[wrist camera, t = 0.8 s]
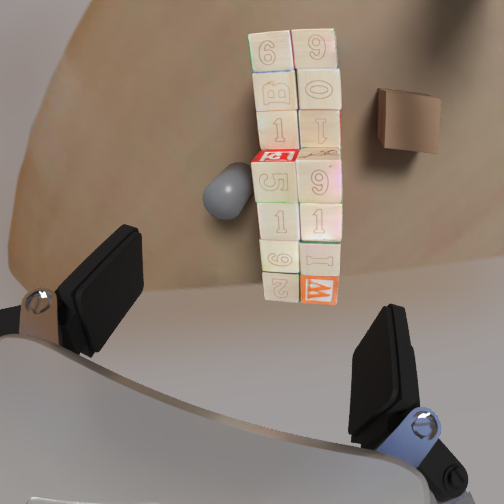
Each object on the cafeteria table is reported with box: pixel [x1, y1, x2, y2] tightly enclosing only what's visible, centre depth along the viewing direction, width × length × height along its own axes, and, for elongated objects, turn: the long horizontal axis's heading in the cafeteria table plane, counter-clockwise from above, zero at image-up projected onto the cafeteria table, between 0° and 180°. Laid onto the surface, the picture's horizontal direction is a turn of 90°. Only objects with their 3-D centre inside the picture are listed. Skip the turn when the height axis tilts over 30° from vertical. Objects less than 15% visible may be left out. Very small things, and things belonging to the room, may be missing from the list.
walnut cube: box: [377, 88, 442, 154], centre depth 24 cm, size 5×5×5 cm
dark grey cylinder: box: [203, 162, 254, 220], centre depth 32 cm, size 4×4×6 cm
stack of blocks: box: [248, 29, 343, 305], centre depth 25 cm, size 21×6×12 cm, turn 6°
